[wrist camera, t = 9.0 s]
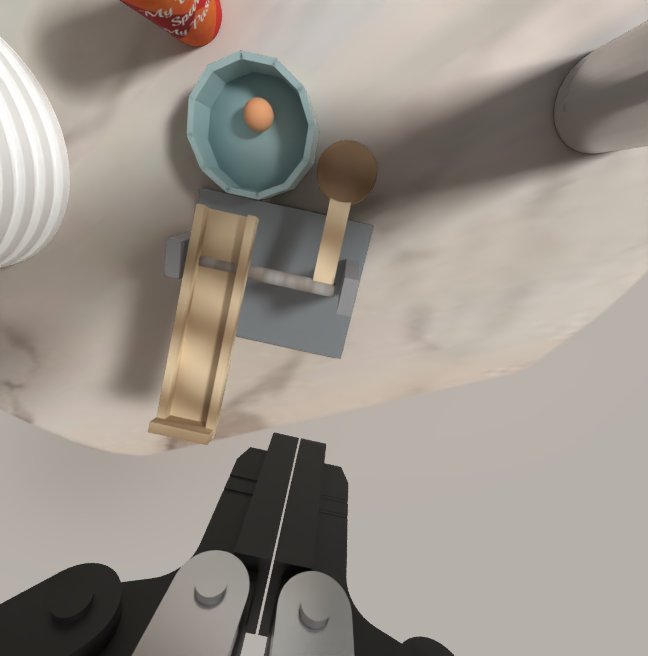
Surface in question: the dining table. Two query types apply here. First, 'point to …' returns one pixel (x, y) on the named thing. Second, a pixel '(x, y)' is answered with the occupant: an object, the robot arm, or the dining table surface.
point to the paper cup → (183, 18)
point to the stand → (291, 257)
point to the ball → (258, 114)
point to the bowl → (244, 143)
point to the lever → (241, 292)
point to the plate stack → (28, 163)
